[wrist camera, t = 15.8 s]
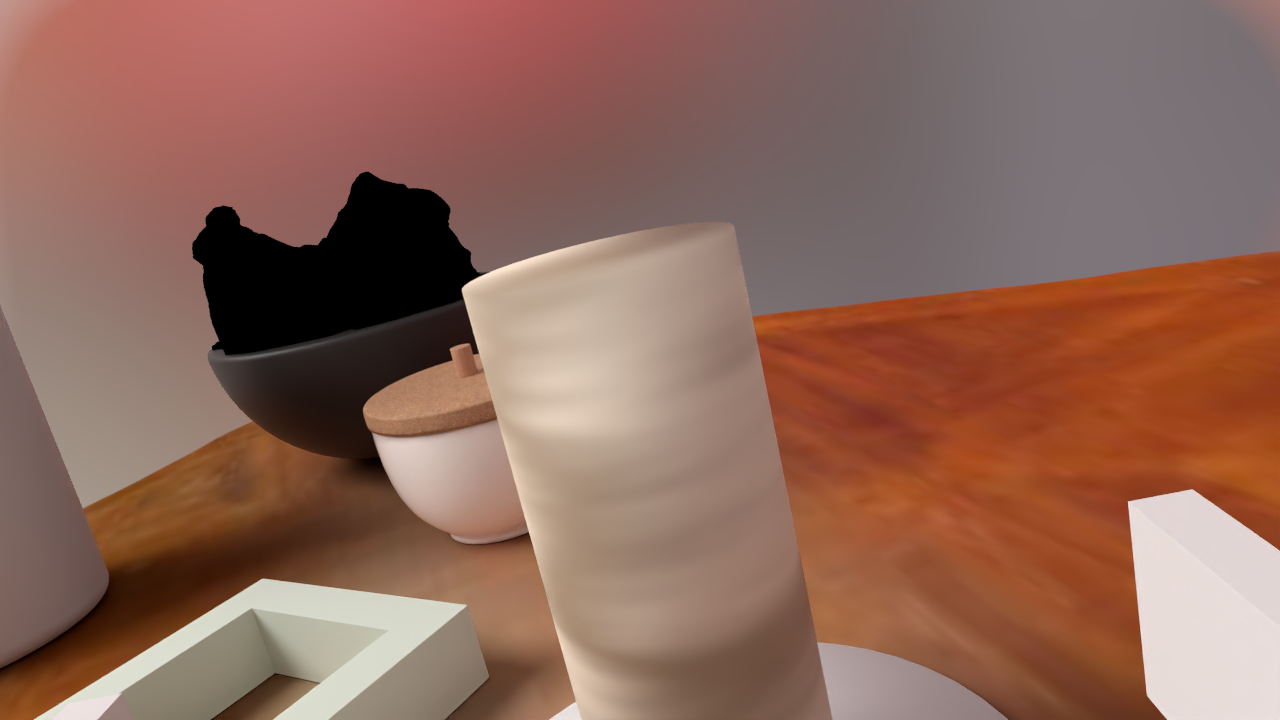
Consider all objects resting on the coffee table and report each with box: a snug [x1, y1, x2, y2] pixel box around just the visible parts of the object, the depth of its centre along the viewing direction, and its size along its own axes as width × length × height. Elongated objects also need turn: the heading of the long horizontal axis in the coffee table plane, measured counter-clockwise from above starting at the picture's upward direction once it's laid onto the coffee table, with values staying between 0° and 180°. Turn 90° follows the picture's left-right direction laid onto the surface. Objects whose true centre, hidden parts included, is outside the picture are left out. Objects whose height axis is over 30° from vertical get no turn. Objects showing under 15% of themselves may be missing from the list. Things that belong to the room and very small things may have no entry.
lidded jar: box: [363, 344, 529, 544], centre depth 47 cm, size 11×11×9 cm
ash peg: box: [462, 222, 833, 720], centre depth 22 cm, size 6×6×15 cm
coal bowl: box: [192, 172, 490, 459], centre depth 62 cm, size 20×20×19 cm
